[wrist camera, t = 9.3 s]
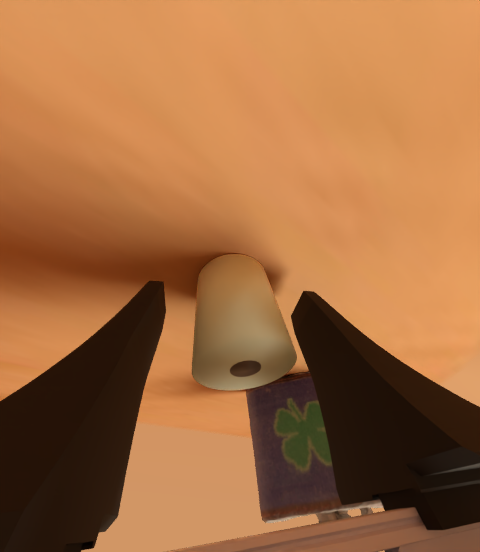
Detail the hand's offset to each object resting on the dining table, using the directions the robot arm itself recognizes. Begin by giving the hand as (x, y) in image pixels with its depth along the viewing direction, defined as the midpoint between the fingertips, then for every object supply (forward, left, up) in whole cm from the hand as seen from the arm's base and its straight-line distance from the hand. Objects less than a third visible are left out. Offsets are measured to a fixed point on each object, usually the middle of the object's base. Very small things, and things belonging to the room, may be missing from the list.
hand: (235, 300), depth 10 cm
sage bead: (0, 0, -2) cm, 2 cm away
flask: (+8, -13, -2) cm, 15 cm away
